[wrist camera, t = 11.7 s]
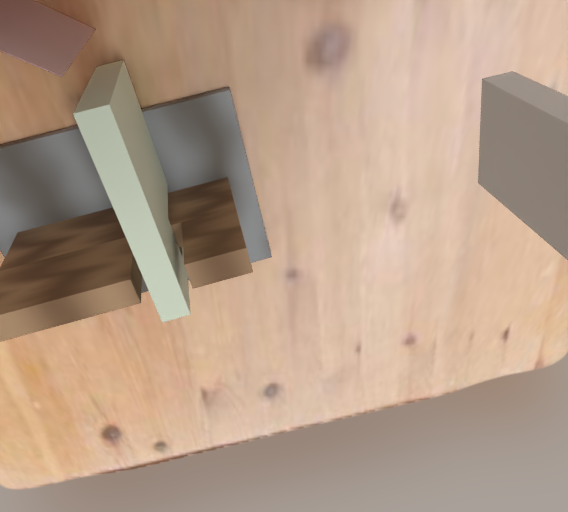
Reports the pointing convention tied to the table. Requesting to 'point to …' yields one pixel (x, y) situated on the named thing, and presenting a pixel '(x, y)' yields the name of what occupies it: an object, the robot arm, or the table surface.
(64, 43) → the greeting card
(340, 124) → the table surface
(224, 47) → the table surface
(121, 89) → the sage plate
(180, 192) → the wood panel stand
